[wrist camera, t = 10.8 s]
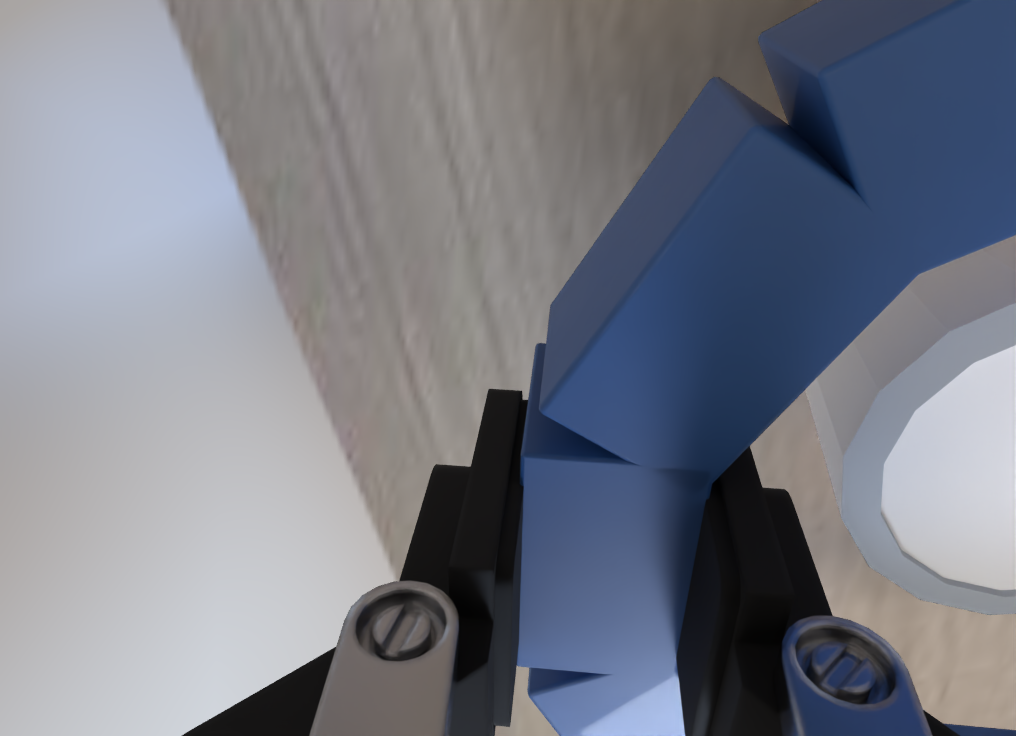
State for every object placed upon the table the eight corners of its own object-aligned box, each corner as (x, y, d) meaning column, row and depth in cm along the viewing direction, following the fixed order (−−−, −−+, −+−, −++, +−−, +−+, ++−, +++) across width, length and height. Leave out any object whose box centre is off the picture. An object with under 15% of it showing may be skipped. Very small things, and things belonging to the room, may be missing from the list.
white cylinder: (1116, 305, 18) (1385, 494, 12) (857, 456, 21) (968, 670, 15) (969, 85, 16) (1202, 180, 10) (704, 287, 19) (758, 455, 13)
